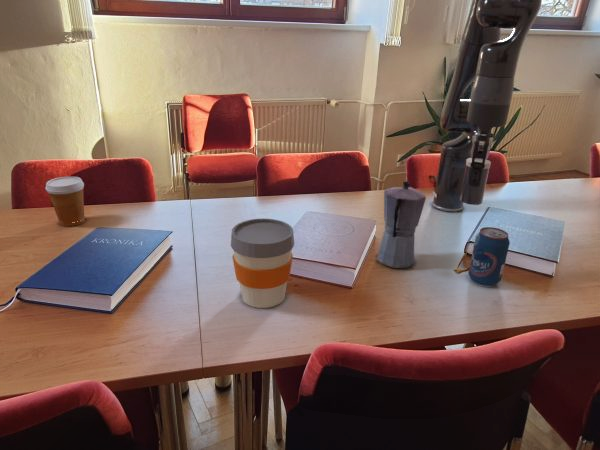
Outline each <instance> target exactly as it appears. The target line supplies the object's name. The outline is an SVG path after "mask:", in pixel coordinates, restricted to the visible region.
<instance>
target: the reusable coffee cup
mask: <svg viewBox="0 0 600 450" xmlns="http://www.w3.org/2000/svg"><path fill="white" fill-rule="evenodd" d="M230 235H231V236H230V247H231V250H232V251H233V254H232V262H233V267H234V273H235V278H236V280H237V282H238V284H239V289H240V294H241V299H242V301H243V302H244V303H245V304H246V305H248V306H250V307H253V308H258V309H266V308H272V307H275V306H277V305H279V304H281V303H282V302H283V301H284V299H285V296H286V289H287V284H288V281H289V279H290V277H291V270H292V265H293V258H294V255H293V252H292V251H293V248H294V247H295V235H294V229H293V227H292V226H291V224H289V223H287V222H285V221H282V220H279V219H274V218H252V219H247V220H244V221H241V222H238V223H237V224H236V225H234V226H233V227H232V229H231V234H230Z"/></svg>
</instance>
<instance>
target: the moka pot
mask: <svg viewBox="0 0 600 450" xmlns="http://www.w3.org/2000/svg"><path fill="white" fill-rule="evenodd" d="M402 183H403V184H402V185H403V187H401V186H400V187H399V186H398V187H397V186H393V187H390V188H386V189H384V190H383V200H384V201H383V209H384V210H383V220H384V232H383V235H382V238H381V240H380V241H381V242H380V245H379V248H378V253H377V256H376V260H377V261H378V262H379V263H380V264H382V265H384V266H387V267H389V268H394V269H406V268H410V267H412V266H414V262H415V233H416V228H417V227H418V226H419V223H420V219H421V216H422V212H423V210H424V206H425V203H426V199H427V196H426V195H425V194H424V193H423V191H420V190H417V189H414V187H411V186H410V184H411V182H409V181H407V180H405V181H403V182H402Z"/></svg>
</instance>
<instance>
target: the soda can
mask: <svg viewBox="0 0 600 450" xmlns="http://www.w3.org/2000/svg"><path fill="white" fill-rule="evenodd" d="M510 245H511V242H510V239H509V233H508V232H507V231H506V230H504V229H501V228H498V227H494V226H493V227H492V226H484V227H481V228H480V230H479V232H478V233H477V234H476V236H475V239H474V244H473V249H472V252H471V257H470V263H469V267H468V276H469V278H470V280H471V281H472V283H473V284H475V285H477V286H480V287H483V288H484V287H485V288H492V287H495V286H496V285H498V284H499V283H500V282H501V281H502V277H503V274H504V269H505V265H506V261H507V257H508V254H509V253H508V252H509V247H510Z"/></svg>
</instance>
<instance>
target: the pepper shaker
mask: <svg viewBox="0 0 600 450" xmlns="http://www.w3.org/2000/svg"><path fill="white" fill-rule="evenodd" d="M482 161H483V159H481V158H475V161H474V162H481V163H482ZM471 163H472V158H468V159H467V160H466V169H465V174H464V180H463V185H462V191H461V196H460V201H461V202H463V204H465V205H469V206H470V205H472V206H480V205H482V204H483V202H484V196H485V190H486V186H487V182H488V176H489V171H490V168H491V165H492V161H490V160H488V159H485V164H484V165H485V168H484V169H483V171H482V176H481V181H480V185H479V187H474V186H469V184H468V183H469V178H470V172H471V166H470V164H471Z"/></svg>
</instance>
